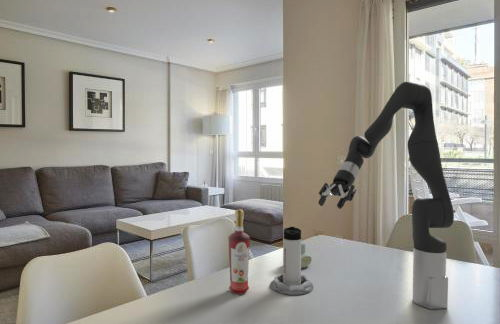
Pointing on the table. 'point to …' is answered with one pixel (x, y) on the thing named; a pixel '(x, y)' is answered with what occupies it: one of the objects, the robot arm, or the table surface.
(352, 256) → the table surface
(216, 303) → the table surface
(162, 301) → the table surface
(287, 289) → the collar
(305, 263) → the air freshener
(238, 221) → the liquor
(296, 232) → the travel mug
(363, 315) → the table surface
